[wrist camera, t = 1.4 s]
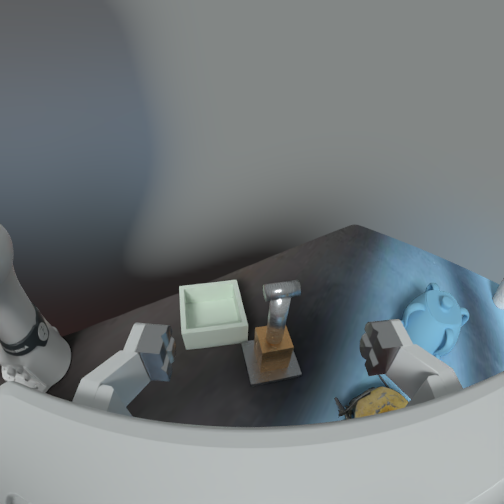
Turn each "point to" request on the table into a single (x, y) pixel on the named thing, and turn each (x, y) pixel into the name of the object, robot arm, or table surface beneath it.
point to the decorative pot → (434, 321)
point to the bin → (212, 315)
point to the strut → (276, 327)
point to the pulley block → (373, 402)
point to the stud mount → (268, 376)
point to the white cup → (499, 296)
